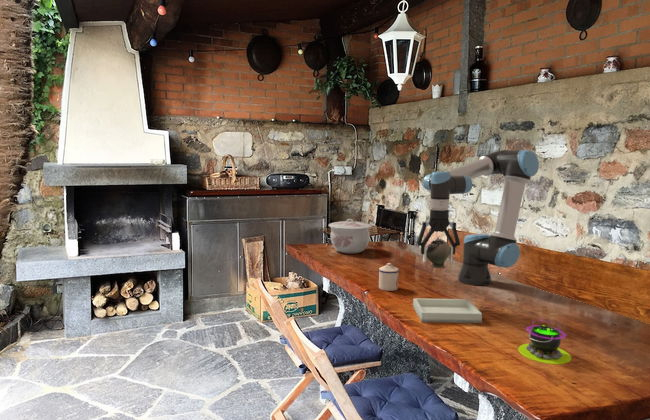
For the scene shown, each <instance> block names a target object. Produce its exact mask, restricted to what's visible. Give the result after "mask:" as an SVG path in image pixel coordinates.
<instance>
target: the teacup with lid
mask: <svg viewBox="0 0 650 420" xmlns="http://www.w3.org/2000/svg"><path fill="white" fill-rule="evenodd" d="M378 271H379V272H378V288H379V289H380V290H382V291H386V292H388V291H393V292H394V291H396V290H398V288H399V272H400V270H399V268H398V267H395V266H394V265H393V264H392V263H391V262H388V263H386V265H384V266H381V267H379V269H378Z"/></svg>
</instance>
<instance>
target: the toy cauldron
mask: <svg viewBox="0 0 650 420" xmlns="http://www.w3.org/2000/svg"><path fill="white" fill-rule="evenodd" d="M544 318H545V319H547V317H544V316H543V317H539V319H538V322H539V321H542V322H544V321H545V320H541V319H544ZM550 320H552V318H550ZM534 322H535V321H532V325H528V326H527V327H526V328H525V329H526V330H525V331H526V332H527V333H528V334H529V340H530V342H529V343H524V344H520V345H519V346H518V349H517V350H518V352H519V353H520V354H521V355H522V356H523V357H525V358H527V359H529V360H531V361H534V362H538V363H542V364H548V365H549V364H550V365H563V364H567V363H569V362H571V360H572V355H570V353H568V352H567V351H566V350H564V349H562V348H560V346H561V343H562V342H561V341H562V339H564V338H566V336H567V333H565V332H564V331H563V330H561V329H560V328H562V327H561V326H560V324H558V328H555V327H551V326H547V325H545V324H542V325H535V324H534ZM547 323H550V321H549V320H547ZM551 323H553V324H552V325H555V321H554V320H553V321H551Z"/></svg>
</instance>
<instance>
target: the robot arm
mask: <svg viewBox="0 0 650 420" xmlns="http://www.w3.org/2000/svg"><path fill="white" fill-rule="evenodd" d="M539 165H540V162H539V159H538V156H537V154H536V153H535V152H534V151H532V150H528V149H502V150H496V151H493V152H491V153H487V154H485V155H481V156H480V157H478V159H477V160H474V161H471V162H467V163H466V164H462V165H459V166H457V167H454V168H451V169H448V170H445V171H433V172H432V173H429V174H426V175H425V176H424V178H423V181H422V184H423V187H424V189H425V190H427V191H430V205H429V208H430V210H429V220H428V221H421V228H420V232H419V234H418V238H417V241H416V244H417V245H418V246H420V254H421V255H422V262H423V263H427V256H426V250H427V248H428V246H426V245H427V243H428V241H429V239H431V237H432V235H433V234H434V233H436V232H437V233H438V232H441V233H444V234H445V236H446V238H447V240H448V242H449V243H450V245H449V246H450V249H451V252H450V254H449V256H448V262H449V263H450V264H453V257H454V255H456V247H458V246H460V245H461V241H460V238H459V234H458V231H457V222H455V221H449V216H450V211H449V209H450V195H459V194H461V195H464V194H467V193H470V192H471V191H472V188H473V181H472V180H473V179H476V178H479V177H481V176H485V177H487V176H491V175H502V178H503V180H505V183H504V187H503V191H502V194H501V195H502V196H501V200H500V203H499V204H500V205H499V208H498V209H499V210H498V215H497V219H496V222H495V228H494V231H493V232H492V233H490V234H487V233H475V234H472V233H471V234H467V235H465V237H464V238H463V239H464V240H463V251H462V252H463V253H462V254H463V258H462V266H461V268H460V270H459V271H460V272H459V274H458V281H459V282H461V283H463V284H466V285H471V286H472V285H473V286H487V285H490V284H491V283H492V277H491V272H490V270H489V269H490V268H489V265H492V266H496V267H498V268H505V269H508V268H512V267H513V266H514V265H516V263H517V262H518V261H519V258H520V254H521V250H520V246H519V245H518V244H517V241H518V240H517V238H516V237H515V233H516V228H517V224H518V219H519V214H520V211H521V206H522V201H523V197H524V192H525V188H526V185H527V184H528V183H530V181H531V177H534V176H536V174H537V173H538V171H539ZM428 226H429V228H430V229H429V230H428V232H427V234H426V235H425V233H426V230H427V227H428ZM449 226H450V228H451V230H452V235H453V238H454V240H453V238H452V236H451V234H450V232H449V231H448V227H449ZM424 235H425V237H424Z"/></svg>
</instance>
